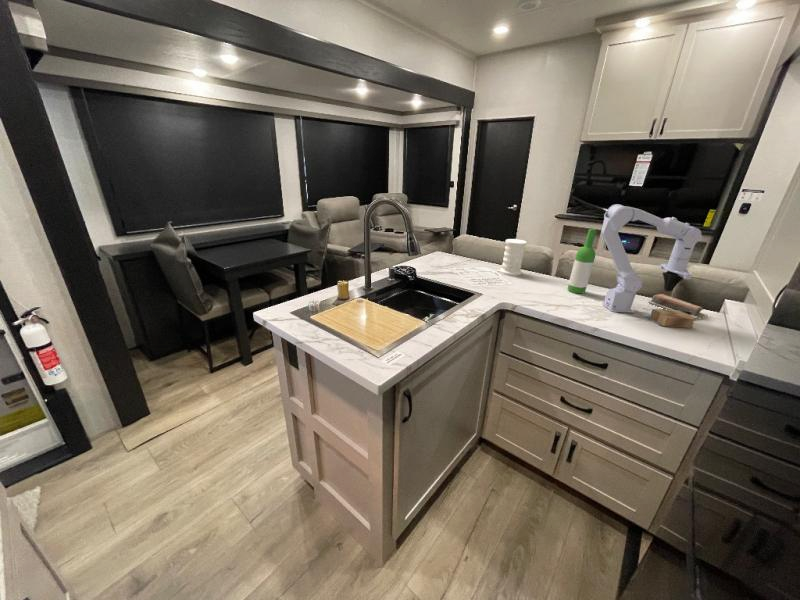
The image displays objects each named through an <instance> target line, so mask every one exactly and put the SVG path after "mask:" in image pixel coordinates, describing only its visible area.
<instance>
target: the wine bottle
mask: <svg viewBox="0 0 800 600" xmlns="http://www.w3.org/2000/svg"><path fill="white" fill-rule="evenodd" d="M596 233H597V229H596V228H588V231H587V235H586V238H585V241H584V245H583V246H582V247H580V248H579V249H578V250H577V252H576V254H575V258H574V261H573V265H572V270H571V272H570V273H571V274H570V277H569V281H568V285H567V290H568V291H569V292H570V293H574V294H578V295H579V294H584V293H585V292H586V290H587V287H588V284H589V280H590V276H591V273H592V269H593V267H594V263H595V262H594V261H595V258H596V251H595V249H594V248H593V244H594V240H595V236H596Z"/></svg>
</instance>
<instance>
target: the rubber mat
mask: <svg viewBox="0 0 800 600" xmlns="http://www.w3.org/2000/svg"><path fill="white" fill-rule="evenodd" d="M646 319H649V320H650V321H651V322H653V323H654V324H656V325H657V326H659V327H664V326H663V325H661V324H660V323H658V322H657V321H655V320H654V319H652V318H651V317H650V315H646Z"/></svg>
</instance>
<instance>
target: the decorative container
mask: <svg viewBox="0 0 800 600" xmlns="http://www.w3.org/2000/svg"><path fill="white" fill-rule="evenodd" d="M505 244H506V245H505V246H504V249H505V250H504V253H503V255H504V256H503V258H502V260H503V261H502V264H501V265H502V267H501V268H499V269H500V270H499V273H500V274H502V275H505V276H509V277H520V276H521V275H522V270H521V268H522V263H523V258H524V255H525V254H524V251H525V246H526V245H527V241H526V240H524V239H518V238H507V239H505Z"/></svg>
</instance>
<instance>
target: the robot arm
mask: <svg viewBox="0 0 800 600" xmlns="http://www.w3.org/2000/svg"><path fill="white" fill-rule="evenodd" d="M603 215H604V216H603V218H604V219H603V222H602V226H601V235H602V237H603V240H604V242H605V244H606V247H607V250H608V251H609V254H610V257H611V259H612V261H613V264H614V266H615V269H616V271H615V272H616V281H617V285H616V287H614V288H613V287H612V288H609V289H608V290H607V292H606V295H605V298H604V302H602V305H603V306H604V307H605V308H606V309H608V310H610V311H611V312H613V313H614V312H615V313H616V312H617V313H629V314H631V313H633V314H635V313H636V311H635V310H633V309H632V307H633V303H634V301H635V297H636V295H637V292H638V291H639V290H640V289H641V288H642V286H643V280H642V279H641V278H640V277H638V275H637V273H636V272H635V270H634V269H633V267H632V265H631V262H630V260H629V258H628V255H627V252H626V249H625V248H624V247H625V246H624V245H623V242H622V240H621V238H620V235H619V232H620V230H621V228H622V227H623V226H626V224H627V223H629V222H630V221H631V222H635V221H641V222H643V223H645V224H646V223H647V224H649V225H652V226H655V227H656V230H657V231H658V232H659V233H662V234H664V235H666V236H669V237H671V238H673V239H675V242H674V245H673V247H672V251H671V253H670V256H669V260H668V263H660V265H659V269H660V270H664V271H665V272H662V276H663V281H664V283H663V284H664V286H663V287H664V291H666V292H673V290H674V289H675V288H676V287H677V285H678V284H679V283H680V282H681V281H683V280H692V277H693V273H690V272H689V271H688V270H689V269H687V267H688V264H689V261H690V259H691V256H692V253H693V250H694V248H695V246H696V244H697V243H698V242H699V241H701V239H702V238H703V235H702V231H701V229H699V228H698V227H695V226H691V224H690V223H688V222H685V223H684V222H681V221H679V220H678V218H676V217H674V216H672V217H665V218H661V217H659V216H656V215H655V214H652V213H649V212H647V211H645V210H642V209H639V208H635V207H631V206H628V205H627V206H626V205H625V206H624V205H622V204H619V203H618V204H617V203H616V204H612V205H611V206H610V207H608V209H607V210H606V211H605V213H604V214H603Z"/></svg>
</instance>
